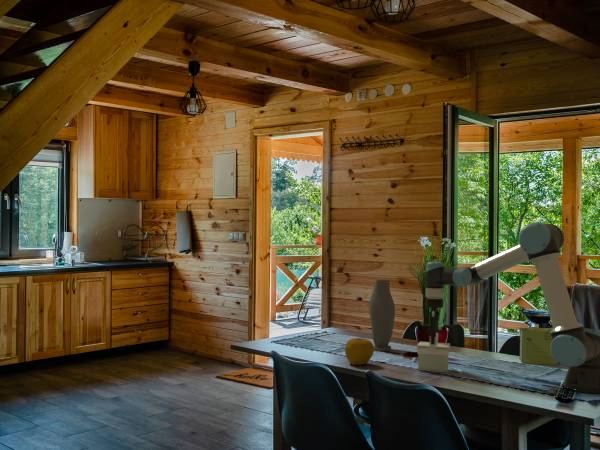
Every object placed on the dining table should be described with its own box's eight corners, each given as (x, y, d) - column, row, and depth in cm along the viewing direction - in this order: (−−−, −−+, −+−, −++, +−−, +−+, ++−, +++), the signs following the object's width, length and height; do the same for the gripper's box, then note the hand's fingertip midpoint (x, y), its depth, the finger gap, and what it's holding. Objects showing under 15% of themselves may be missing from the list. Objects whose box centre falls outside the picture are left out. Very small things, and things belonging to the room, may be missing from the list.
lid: (449, 351, 277) (450, 341, 277) (448, 355, 267) (448, 345, 267) (419, 349, 280) (419, 339, 280) (417, 353, 270) (417, 343, 270)
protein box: (557, 365, 290) (558, 331, 290) (522, 363, 293) (522, 329, 293) (553, 361, 300) (553, 328, 300) (519, 359, 303) (519, 326, 303)
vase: (394, 352, 315) (395, 280, 316) (367, 350, 317) (369, 280, 318) (394, 348, 328) (395, 279, 329) (369, 347, 330) (370, 279, 331)
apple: (375, 362, 286) (376, 337, 286) (371, 368, 273) (371, 341, 274) (347, 360, 289) (348, 335, 289) (341, 365, 277) (342, 339, 277)
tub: (448, 368, 275) (448, 351, 276) (447, 372, 268) (447, 354, 268) (419, 366, 279) (420, 349, 279) (418, 370, 271) (418, 352, 271)
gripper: (441, 300, 262) (441, 354, 261) (445, 296, 284) (444, 346, 283) (423, 299, 264) (422, 353, 263) (427, 295, 286) (427, 345, 286)
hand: (433, 349), depth 273 cm, fingers closed on lid, 10 cm apart
